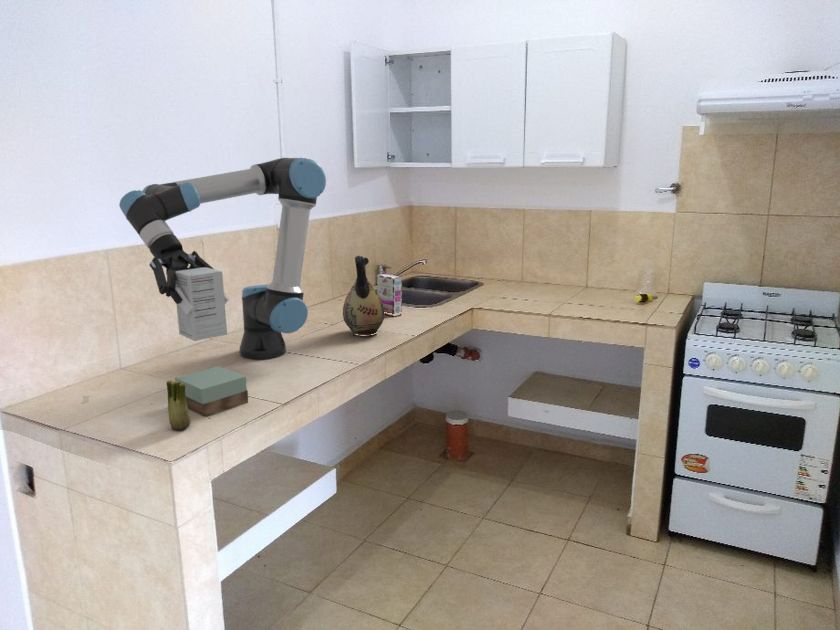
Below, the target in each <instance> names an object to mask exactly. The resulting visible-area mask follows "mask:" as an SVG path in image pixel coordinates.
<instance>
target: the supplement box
mask: <svg viewBox="0 0 840 630" xmlns="http://www.w3.org/2000/svg"><path fill="white" fill-rule="evenodd" d="M223 276H224V275H223V271H221V270H218V269H215V270H214V268H213V269H211V268H207V267H203V268H195V269H188V270H180V271H176V289H177V288H180V290H181V291H182V293H183V294H184V295H185V297H186V298H187V300H188V301H189V302H190V304H191V305H192V307H193V308H194V309H193V310H192V311H191V313H190V314H189V315H186V314H185V313H184V311H183V310H182V308H181V307H180V305H179V304H176V314H177V323H178V324H177V325H178V334H179V335H180V336H182V337H185V338H187V339H189V340H191V341H194V342H196V341H202V340H205V339H207V340H208V339H212V338H217V337H221V336H227V335H228V328H227V315H226V304H225V300H224V293H225V288H224V277H223ZM176 289H175V290H176Z"/></svg>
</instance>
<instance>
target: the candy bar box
mask: <svg viewBox="0 0 840 630" xmlns="http://www.w3.org/2000/svg"><path fill="white" fill-rule="evenodd" d="M376 285H377V286H376V292H377V293H378V295H379V297H380V298H381V301H382V304H383V307H384V312H387V313H392V314H395V313H399V312H402V311H403V295H402V294H403V277H401V276H399V275H392V274H387V273H381V274H376ZM402 313H403V312H402Z"/></svg>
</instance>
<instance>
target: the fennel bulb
mask: <svg viewBox="0 0 840 630" xmlns="http://www.w3.org/2000/svg"><path fill="white" fill-rule="evenodd" d="M166 389H167V409H168V410H167V412H168V421H169V426H170V428H171V429H172V430H174V431H182V430H185V429H188V427H190V424H191V422H192V421H191V420H192V419H191V415H190V413H189V411H190V410H189V409H188V407H187V403H186V395H185V384H183V383H181V382H180V381H178V382H177V383H176V382H175V381H172V380H166Z"/></svg>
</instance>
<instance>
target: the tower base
mask: <svg viewBox="0 0 840 630" xmlns="http://www.w3.org/2000/svg"><path fill="white" fill-rule="evenodd" d="M248 391H249V390H248V389H247V391H244V392H241V393H238V394H234V395H231V396H228V397H225V398H222V399H218V400H215V401H212V402H209V403H205V404H201V403H199V402H197V401H195V400H193V399H190V398H188V397H186V403H187V407H188V411H192V412H194V413H196V414H199V416H203V417H205V418H208V417H210V416H213V415H215V414H218V413H222V412H225V411H227V410H231V409H233V408H237V407H240V406H243V405H246V404H248V403H249V393H248Z"/></svg>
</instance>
